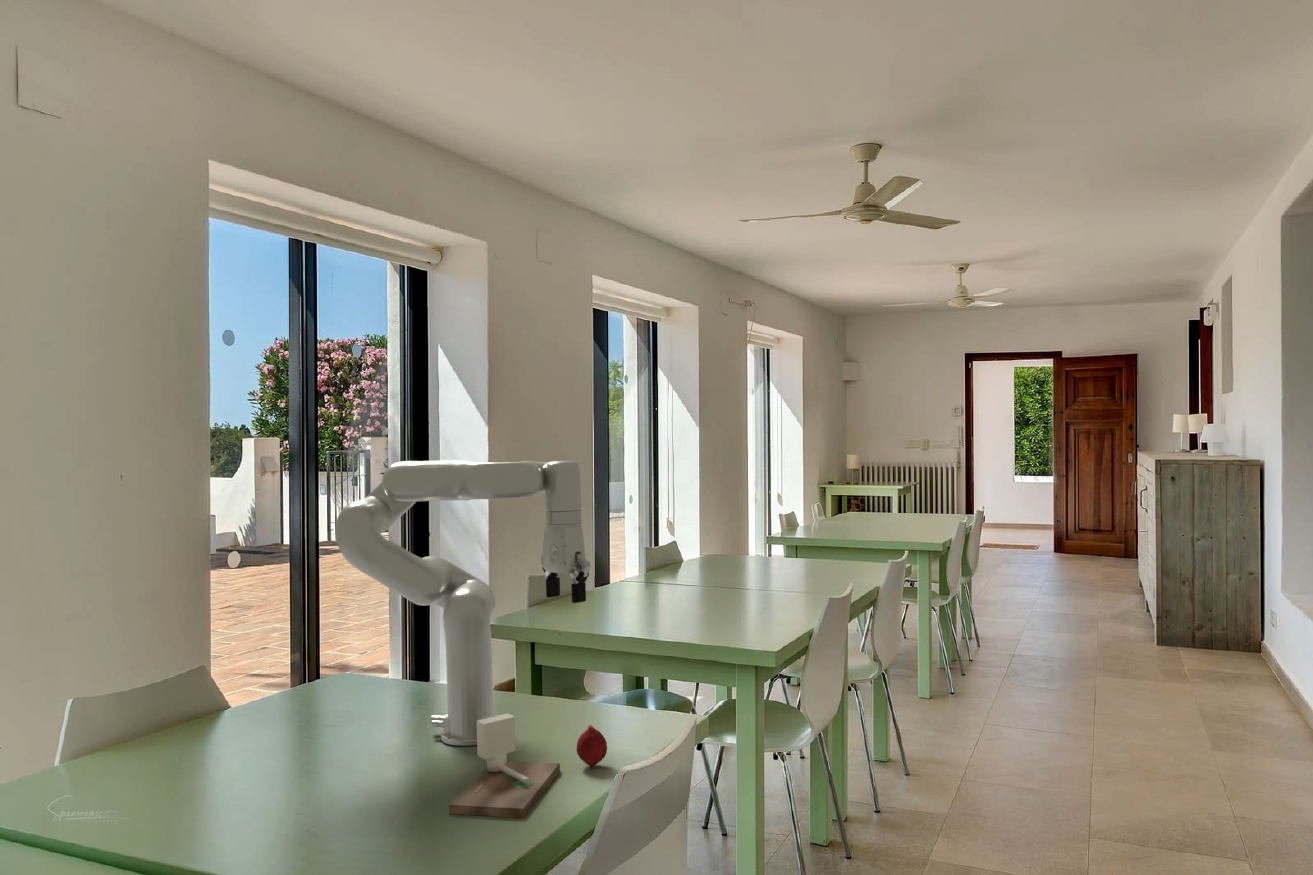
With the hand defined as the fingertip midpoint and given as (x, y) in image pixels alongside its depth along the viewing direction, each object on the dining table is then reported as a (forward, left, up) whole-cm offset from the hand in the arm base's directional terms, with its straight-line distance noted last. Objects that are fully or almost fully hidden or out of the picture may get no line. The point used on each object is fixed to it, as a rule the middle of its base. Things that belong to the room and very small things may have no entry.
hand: (565, 599), depth 193 cm
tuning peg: (-3, -30, -26) cm, 40 cm away
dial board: (-2, -32, -28) cm, 43 cm away
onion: (+10, -19, -28) cm, 36 cm away
